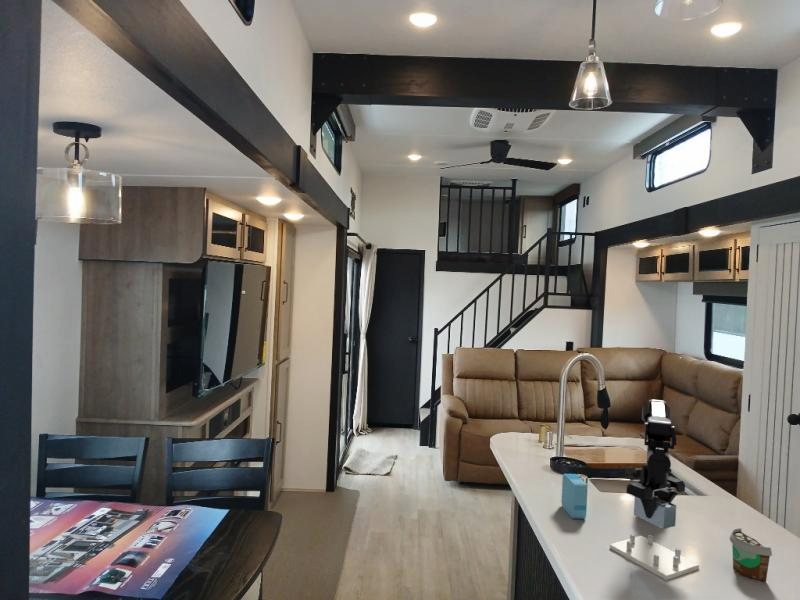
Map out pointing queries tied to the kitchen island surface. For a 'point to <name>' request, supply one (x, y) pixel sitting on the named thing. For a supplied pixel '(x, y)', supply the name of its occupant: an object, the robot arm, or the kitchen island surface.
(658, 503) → the block
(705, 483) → the kitchen island surface
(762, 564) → the food container
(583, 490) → the light blue box
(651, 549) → the cream pegged board
